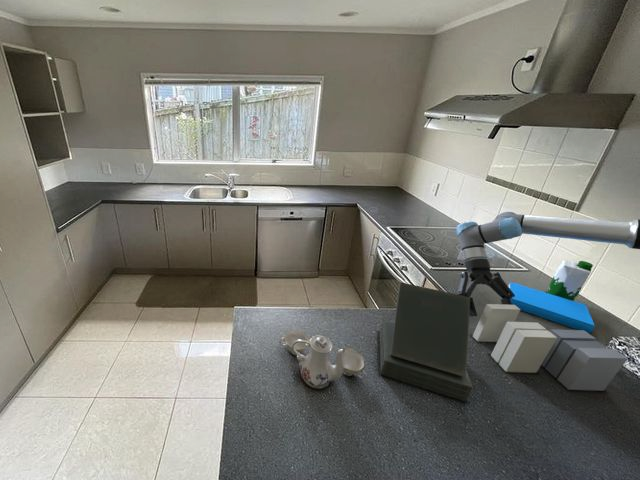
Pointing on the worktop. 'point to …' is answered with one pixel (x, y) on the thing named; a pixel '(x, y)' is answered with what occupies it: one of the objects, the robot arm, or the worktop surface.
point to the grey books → (582, 361)
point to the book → (552, 307)
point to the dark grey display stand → (428, 341)
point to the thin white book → (494, 321)
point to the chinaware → (322, 359)
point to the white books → (523, 347)
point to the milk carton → (569, 279)
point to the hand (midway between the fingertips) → (491, 316)
